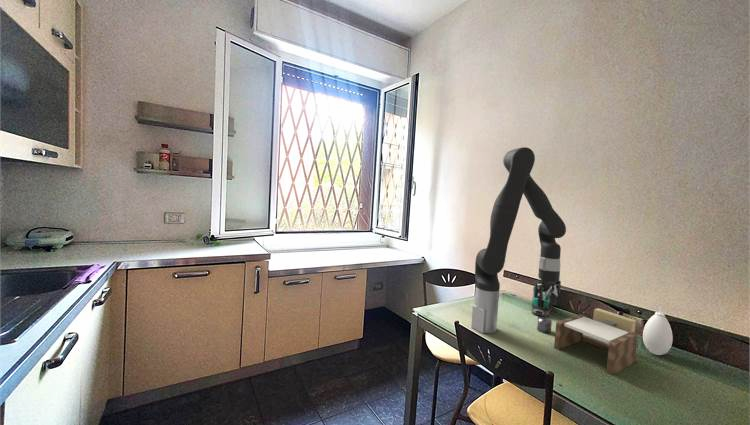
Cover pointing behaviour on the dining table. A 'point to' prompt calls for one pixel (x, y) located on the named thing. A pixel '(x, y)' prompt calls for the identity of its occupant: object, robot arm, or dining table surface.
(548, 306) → the sneaker
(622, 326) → the trapdoor
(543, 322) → the cylinder
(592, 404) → the dining table surface
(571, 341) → the frame
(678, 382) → the dining table surface
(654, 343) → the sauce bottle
